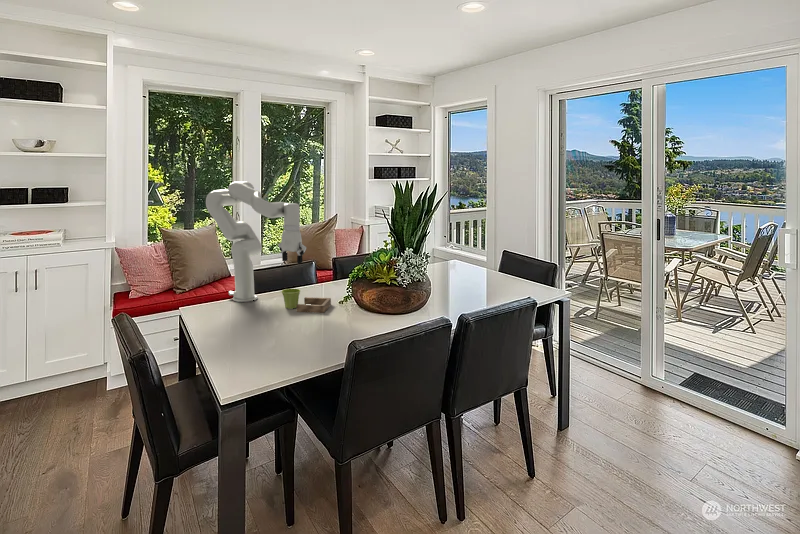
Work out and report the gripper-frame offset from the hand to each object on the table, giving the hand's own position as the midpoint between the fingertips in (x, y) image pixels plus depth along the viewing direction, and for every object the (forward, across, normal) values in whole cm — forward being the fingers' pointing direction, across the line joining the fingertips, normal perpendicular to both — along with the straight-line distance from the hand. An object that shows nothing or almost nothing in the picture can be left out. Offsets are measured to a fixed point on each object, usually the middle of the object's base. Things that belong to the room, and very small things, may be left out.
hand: (292, 262), depth 244 cm
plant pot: (+23, +2, -4) cm, 23 cm away
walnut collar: (+22, +12, 0) cm, 25 cm away
